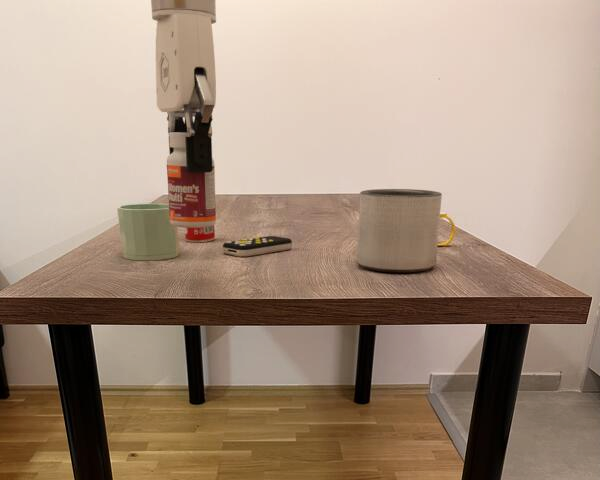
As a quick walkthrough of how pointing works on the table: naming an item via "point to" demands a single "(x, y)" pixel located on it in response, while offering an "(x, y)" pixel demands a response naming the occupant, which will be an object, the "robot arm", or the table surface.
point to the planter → (398, 230)
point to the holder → (147, 232)
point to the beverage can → (199, 234)
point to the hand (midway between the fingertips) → (190, 169)
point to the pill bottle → (189, 189)
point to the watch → (452, 229)
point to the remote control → (257, 246)
